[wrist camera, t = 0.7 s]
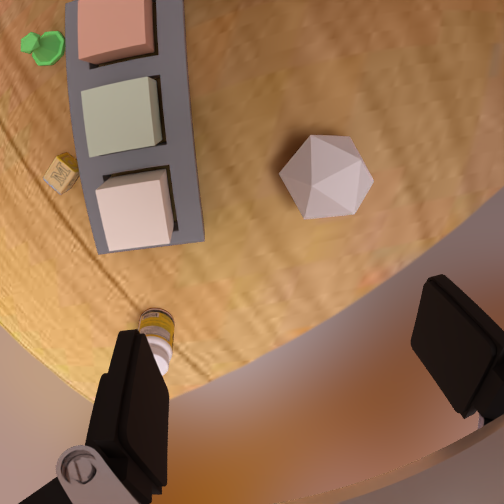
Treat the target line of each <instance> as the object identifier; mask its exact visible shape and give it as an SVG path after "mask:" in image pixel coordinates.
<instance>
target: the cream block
mask: <svg viewBox="0 0 504 504" xmlns="http://www.w3.org/2000/svg"><path fill="white" fill-rule="evenodd" d="M95 191H96V196H97V201H98V206H99V210H100V215H101V219H102V224H103V228H104V232H105V236H106V240H107V244H108V248H109V251H115V250H123V249H130V248H138V247H146V246H154V245H162V244H170V241H171V236H172V232H173V227H174V219H173V213H172V206H171V200H170V193H169V186H168V179H167V171H166V169H159V170H152V171H146V172H139V173H133V174H127V175H121V176H116V177H110V178H109V179H108V180H107V181H105V182H104V183H103V184H102V185H101V186H100V187H98V188H97V189H96V190H95Z"/></svg>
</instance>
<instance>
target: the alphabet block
mask: <svg viewBox="0 0 504 504" xmlns="http://www.w3.org/2000/svg"><path fill="white" fill-rule="evenodd" d="M79 175H80V173H79V168H78V162H77V160H76V159H74V158H73V157H72V156H71V155H70V154H69V153H67V152H66V153H64V154H61V155H58V156H56V157H55V159H54V161H53V162H52V164H51V166H50V167H49V169H48V170H47V172H46V174H45V175H44V177H43V179H44V181H46V182H47V183H48V184H49V185H50V186H51V187H52V188H53V189H54V190H56V191H57V192H58V193H59V194H60V195H62V194H63V193H65V192H66V191H68V190H69V189H71V187H72V186H73V184H74V183H75V181H76V180H77V178H78V177H79Z"/></svg>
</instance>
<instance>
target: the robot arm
mask: <svg viewBox="0 0 504 504" xmlns="http://www.w3.org/2000/svg"><path fill="white" fill-rule="evenodd" d="M411 346H412V349H413V350H414V352H415V353H416V355H417V356H418V357H419V359H420V360H421V362H422V363H423V364H424V366H425V367H426V369H427V370H428V371H429V373H430V374H431V376H432V377H433V379H434V380H435V381H436V383H437V384H438V386H439V387H440V389H441V390H442V391H443V393H444V395H445V396H446V398H447V399H448V401H449V402H450V404H451V405H452V407H453V408H454V410H455V411H456V412H457V413H460V414H461V415H462V417H463V418H464V419H465V418H467V417H469V416H471V415H473V414H474V413H475V412H476V411H478V412H479V423H478V430H476V431H474V432H473V433H471V434H469V435H467V436H465V437H464V438H462V439H460V440H458V441H456V442H454V443H453V444H450V445H449V446H447V447H445V448H442V449H440V450H438V451H436V452H434V453H432V454H430V455H428V456H425V457H423V458H421V459H419V460H417V461H414V462H412V463H410V464H407V465H405V466H402V467H400V468H397V469H395V470H392V471H390V472H387V473H384V474H382V475H379V476H376V477H373V478H370V479H368V480H365V481H362V482H359V483H355V484H352V485H349V486H346V487H342V488H339V489H336V490H332V491H328V492H324V493H321V494H317V495H313V496H308V497H305V498H300V499H295V500H290V501H286V502H280V503H275V504H504V331H503V330H502V329H501V328H500V327H499V326H498V325H497V324H496V323H495V322H494V321H493V320H492V319H491V318H490V317H489V316H488V315H487V314H486V313H485V312H484V311H483V310H482V309H481V308H480V307H479V306H478V305H477V304H476V303H474V301H473V300H471V299H470V298H469V297H468V296H467V295H466V294H465V293H464V292H463V291H462V290H461V289H460V288H459V287H457V286H456V285H455V284H454V283H453V282H452V281H451V280H450V279H448V278H447V277H446V276H445V275H443V274H441V275H437V276H433V277H430V278H428V280H427V282H426V283H425V284H424V286H423V291H422V295H421V300H420V305H419V309H418V313H417V318H416V322H415V326H414V330H413V334H412V337H411ZM168 412H169V392H168V389H167V386H166V384H165V382H164V379H163V377H162V375H161V372H160V370H159V367H158V365H157V363H156V360H155V358H154V355H153V353H152V350H151V348H150V345H149V342H148V340H147V337H146V335H145V334H144V333H141V334H140V332H139V331H138V330H137V329H135V330H125V331H120V332H119V334H118V337H117V341H116V344H115V348H114V352H113V355H112V359H111V363H110V367H109V371H108V373H104V374H103V375H102V376H101V379H100V382H99V386H98V390H97V394H96V398H95V402H94V406H93V411H92V415H91V419H90V424H89V428H88V433H87V438H86V443H85V446H83V445H79V446H73V447H71V448H69V449H67V450H66V451H65V452H63V453H62V454H61V456H60V458H59V459H58V461H57V465H56V474H57V477H56V478H54V479H53V480H52V481H50V482H49V483H47V484H46V485H45V486H43V487H42V488H40V489H39V490H37V491H36V492H35V493H33V494H32V495H30V496H29V497H27V498H26V499H24V500H23V501H22V502H20V503H19V504H150V503H151V502H152V494H158V495H159V494H162V486H166V485H167V446H168V443H167V442H168Z"/></svg>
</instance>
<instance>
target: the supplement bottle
mask: <svg viewBox="0 0 504 504" xmlns="http://www.w3.org/2000/svg"><path fill="white" fill-rule="evenodd" d="M138 331H139V332H140V334H141V333H144V334H145V335H146V337H147V340H148V342H149V345H150V348H151V350H152V353H153V355H154V358H155V360H156V363H157V365H158V367H159V370H160V372H161V375H162V376H163V375H164V374H165V373H166V372H167V371H168V367H169V361H170V359H171V357H172V353H173V338H174V320H173V317H172V316H171V315H170V314H169V313H168V312H166V311H164V310H162V309H157V308H153V309H149V310H147V311H145V312H144V313H143V314H142V315H141V317H140V321H139V326H138Z"/></svg>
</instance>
